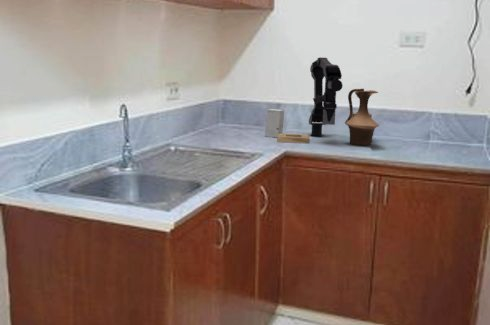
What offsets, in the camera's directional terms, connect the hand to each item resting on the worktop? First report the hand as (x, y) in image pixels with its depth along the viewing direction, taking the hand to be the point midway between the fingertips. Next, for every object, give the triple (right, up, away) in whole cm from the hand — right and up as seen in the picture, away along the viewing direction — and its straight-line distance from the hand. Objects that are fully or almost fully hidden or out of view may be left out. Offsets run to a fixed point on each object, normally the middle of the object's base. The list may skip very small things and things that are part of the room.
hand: (328, 121), depth 257 cm
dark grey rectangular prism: (0, -2, 0) cm, 2 cm away
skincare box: (-27, -7, +18) cm, 33 cm away
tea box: (+18, -10, +10) cm, 23 cm away
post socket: (-18, -10, +4) cm, 21 cm away
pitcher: (+16, -12, -2) cm, 20 cm away
